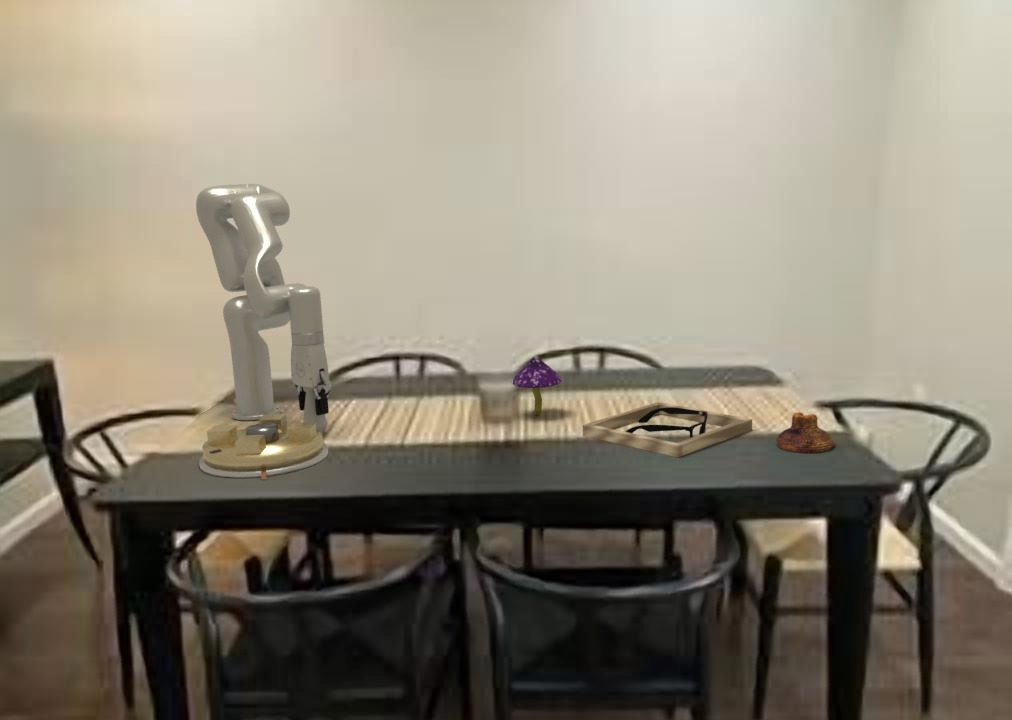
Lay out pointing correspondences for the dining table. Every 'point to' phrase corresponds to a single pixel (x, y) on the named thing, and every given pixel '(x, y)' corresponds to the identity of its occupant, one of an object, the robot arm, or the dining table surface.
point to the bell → (804, 436)
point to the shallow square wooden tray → (607, 433)
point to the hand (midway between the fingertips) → (314, 411)
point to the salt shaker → (313, 411)
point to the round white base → (264, 473)
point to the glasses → (668, 427)
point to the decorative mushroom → (536, 379)
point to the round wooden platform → (262, 445)
